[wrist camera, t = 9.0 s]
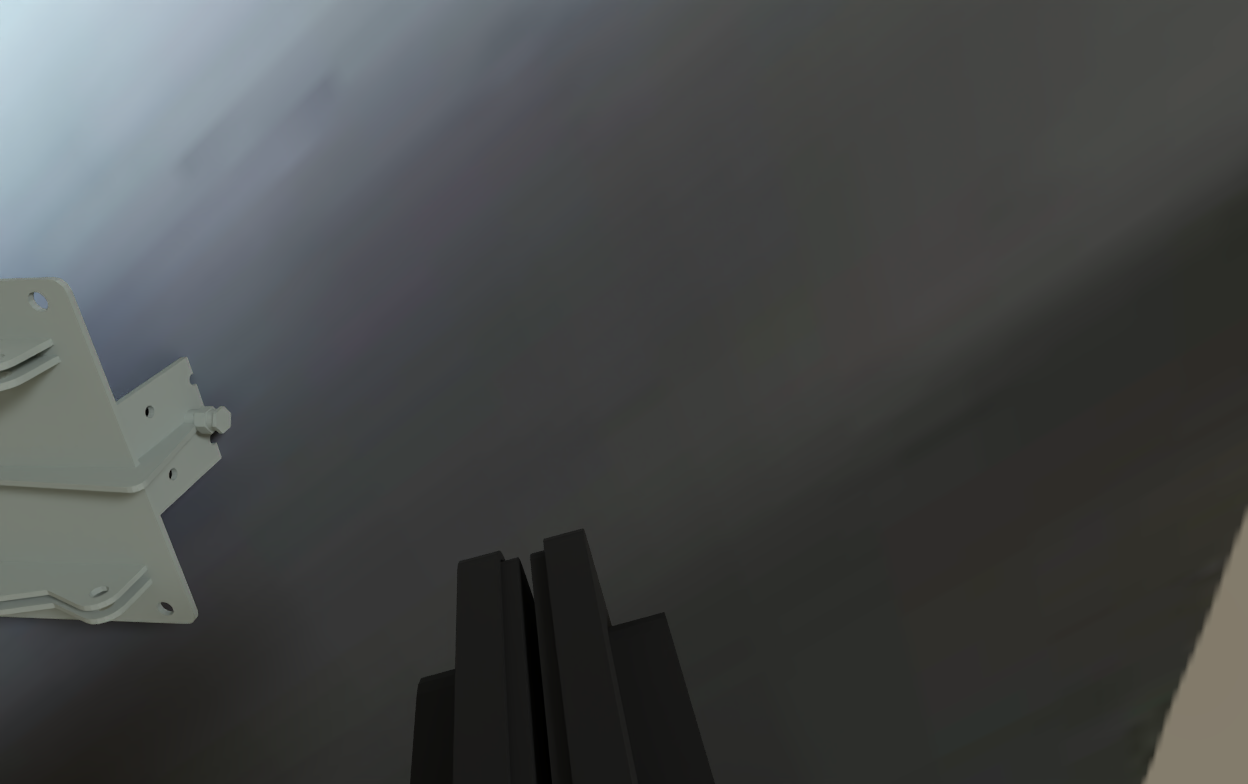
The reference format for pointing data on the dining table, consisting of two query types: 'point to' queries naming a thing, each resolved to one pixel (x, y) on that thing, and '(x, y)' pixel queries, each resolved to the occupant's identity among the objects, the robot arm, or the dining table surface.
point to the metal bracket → (90, 470)
